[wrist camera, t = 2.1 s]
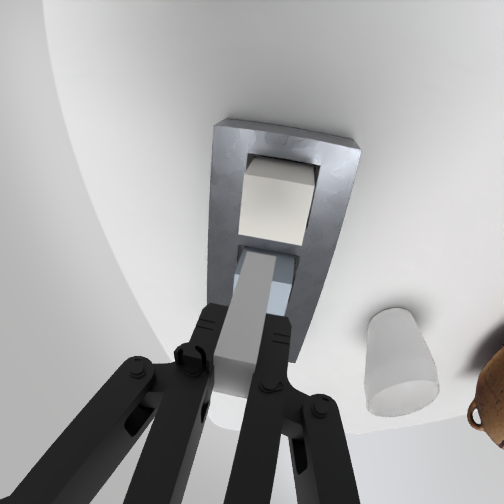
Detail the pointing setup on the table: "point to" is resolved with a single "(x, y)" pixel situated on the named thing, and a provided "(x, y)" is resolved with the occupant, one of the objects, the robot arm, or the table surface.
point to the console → (319, 219)
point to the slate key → (274, 278)
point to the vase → (490, 399)
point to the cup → (398, 366)
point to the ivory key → (276, 200)
